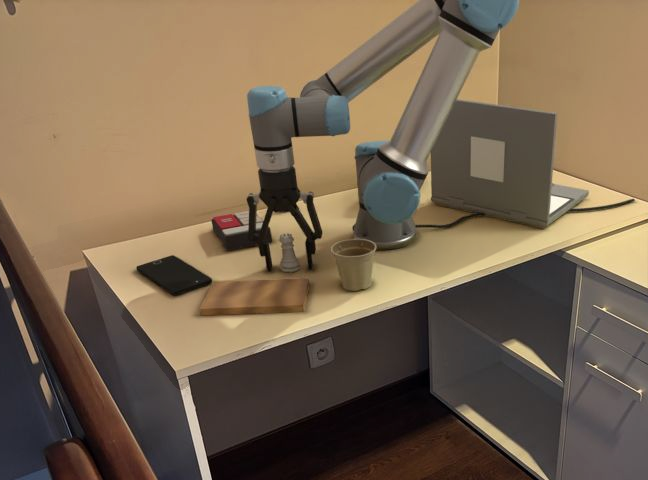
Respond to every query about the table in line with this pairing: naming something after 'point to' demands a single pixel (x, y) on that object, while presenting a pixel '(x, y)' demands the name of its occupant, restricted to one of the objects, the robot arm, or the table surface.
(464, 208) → the laptop
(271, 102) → the robot arm
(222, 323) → the table surface
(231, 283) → the board
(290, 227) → the table surface
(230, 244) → the calculator
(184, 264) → the cell phone
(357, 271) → the flower pot
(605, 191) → the table surface
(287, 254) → the rook chess piece
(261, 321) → the table surface
